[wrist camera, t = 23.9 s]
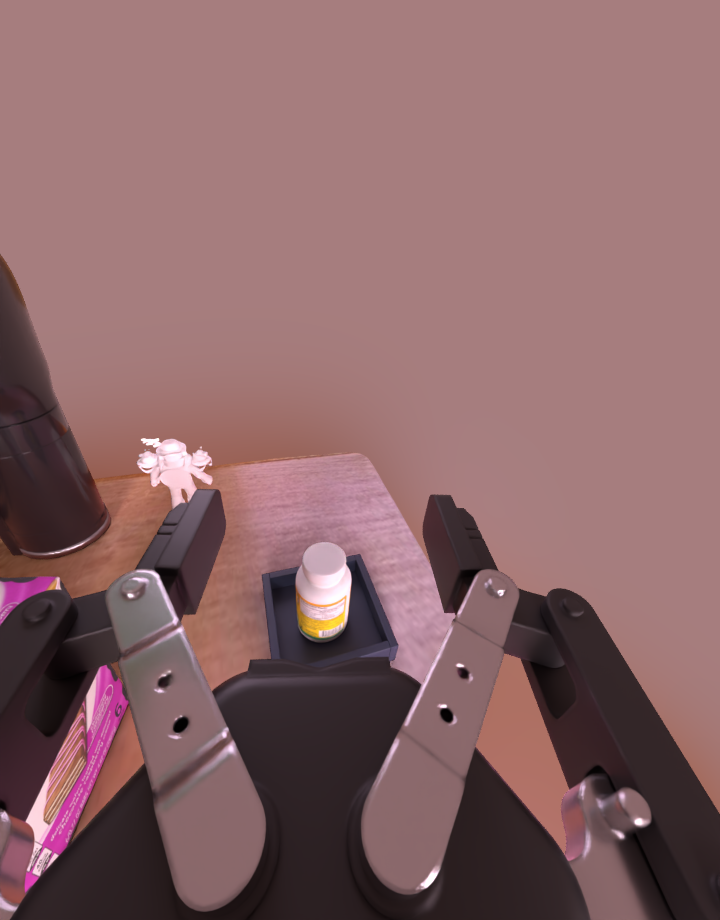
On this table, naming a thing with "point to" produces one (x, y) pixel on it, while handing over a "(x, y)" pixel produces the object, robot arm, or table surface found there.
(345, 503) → the table surface
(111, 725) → the candy bar box
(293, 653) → the tray
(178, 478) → the hat wearing toy figure
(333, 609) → the supplement bottle
